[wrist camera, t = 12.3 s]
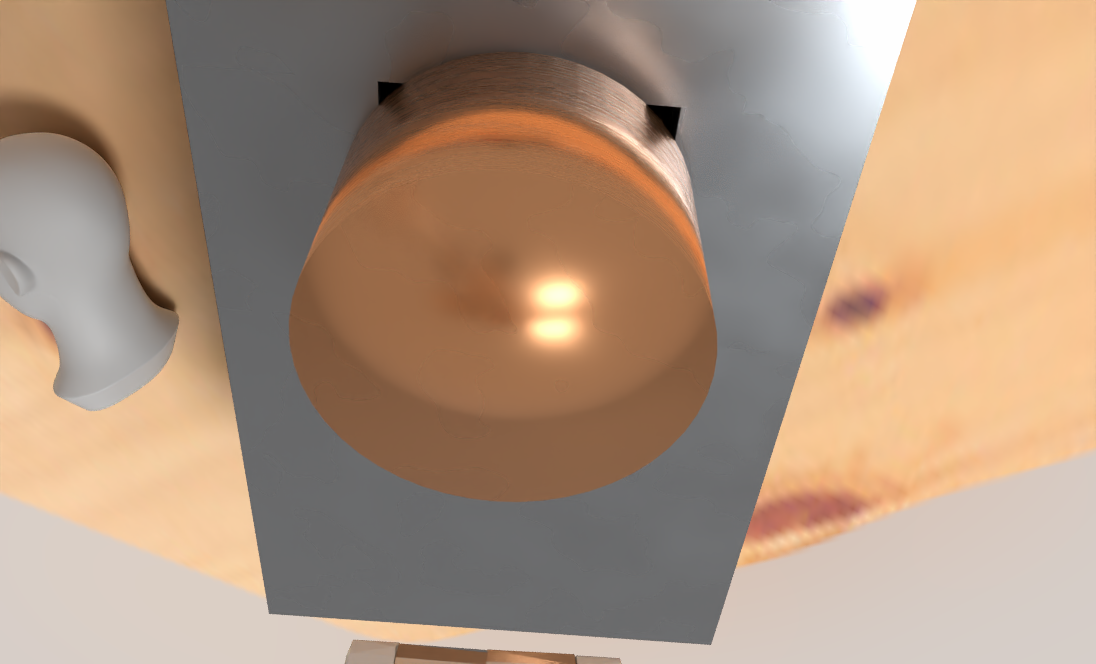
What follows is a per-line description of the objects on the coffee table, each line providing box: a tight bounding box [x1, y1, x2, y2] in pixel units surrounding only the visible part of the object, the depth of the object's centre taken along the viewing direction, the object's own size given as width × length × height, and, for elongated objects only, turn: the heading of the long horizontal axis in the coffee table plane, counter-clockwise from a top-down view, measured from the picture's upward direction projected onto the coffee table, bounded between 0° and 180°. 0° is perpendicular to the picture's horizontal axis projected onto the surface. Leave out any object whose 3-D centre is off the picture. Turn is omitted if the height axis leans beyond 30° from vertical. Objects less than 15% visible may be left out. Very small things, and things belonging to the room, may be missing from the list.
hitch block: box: [166, 0, 916, 645], centre depth 24 cm, size 12×18×8 cm, turn 176°
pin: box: [289, 52, 717, 502], centre depth 19 cm, size 7×7×11 cm
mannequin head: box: [0, 132, 179, 411], centre depth 27 cm, size 4×8×5 cm
